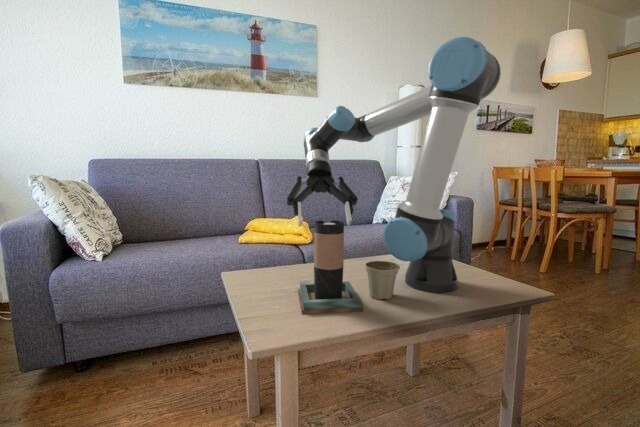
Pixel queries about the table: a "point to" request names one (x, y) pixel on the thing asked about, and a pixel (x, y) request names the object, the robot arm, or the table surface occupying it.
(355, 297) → the coaster dock
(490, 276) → the table surface
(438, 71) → the robot arm
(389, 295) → the flower pot
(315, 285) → the travel mug
